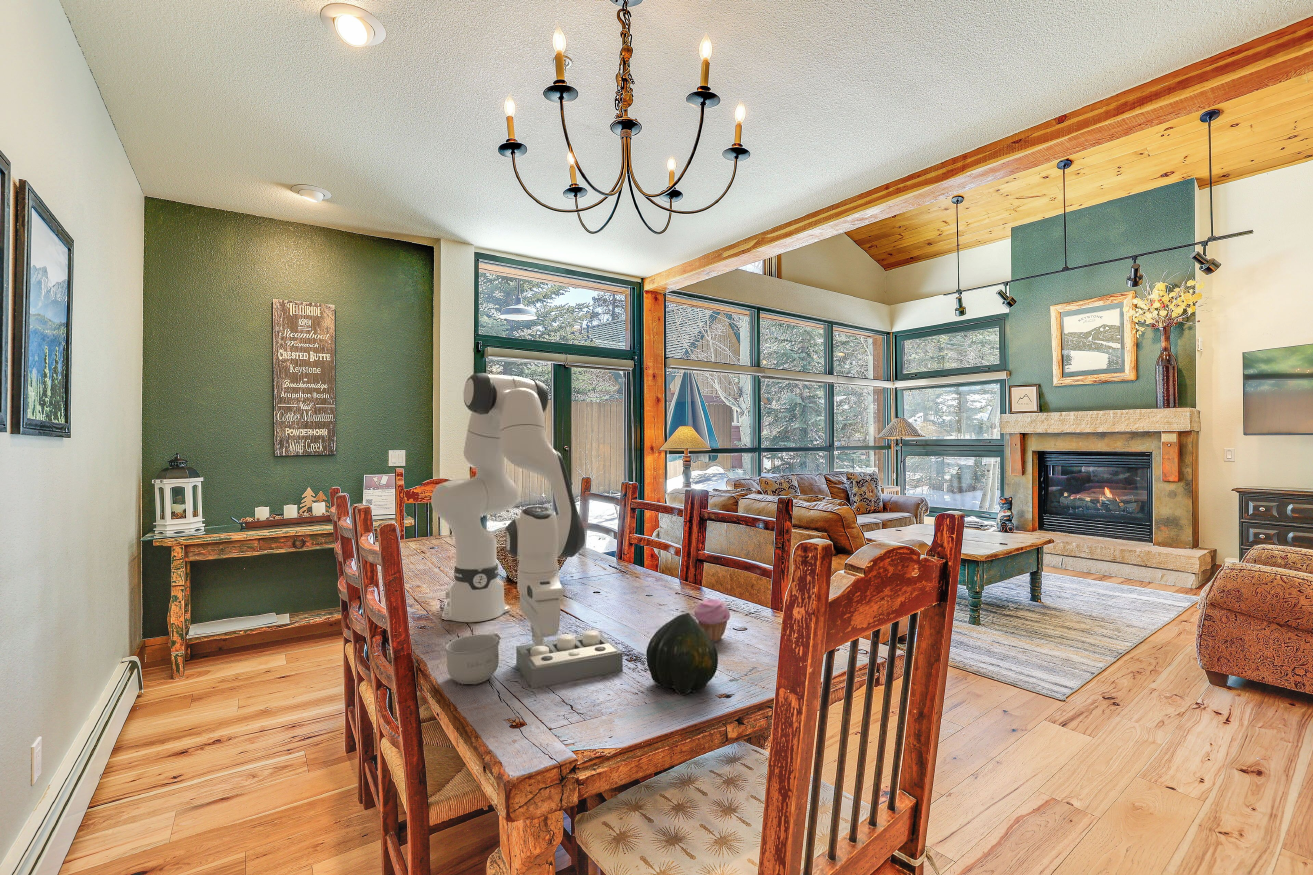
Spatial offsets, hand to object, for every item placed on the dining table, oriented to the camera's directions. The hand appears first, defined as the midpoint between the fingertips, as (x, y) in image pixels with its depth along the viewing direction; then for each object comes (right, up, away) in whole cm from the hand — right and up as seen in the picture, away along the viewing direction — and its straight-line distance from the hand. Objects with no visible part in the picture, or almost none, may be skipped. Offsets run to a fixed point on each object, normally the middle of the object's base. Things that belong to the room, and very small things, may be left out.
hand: (537, 643), depth 130 cm
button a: (+1, -4, 0) cm, 4 cm away
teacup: (-12, -6, -4) cm, 14 cm away
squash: (+31, -6, -8) cm, 33 cm away
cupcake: (+40, -6, +19) cm, 45 cm away
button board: (+7, -6, +1) cm, 9 cm away
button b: (+6, -3, +3) cm, 7 cm away
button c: (+11, -2, +5) cm, 13 cm away
